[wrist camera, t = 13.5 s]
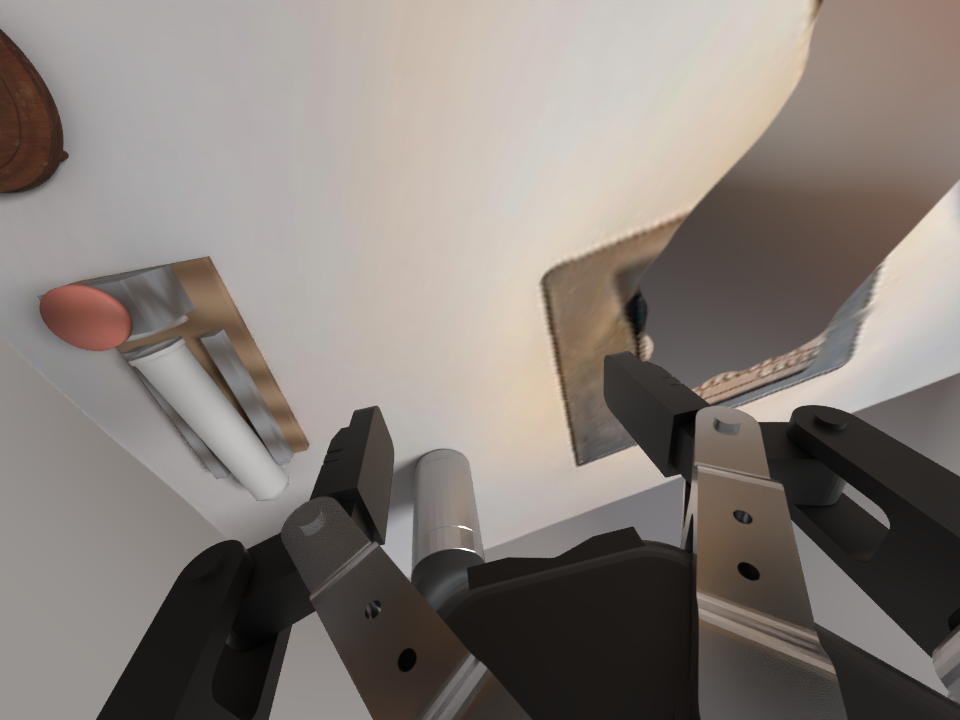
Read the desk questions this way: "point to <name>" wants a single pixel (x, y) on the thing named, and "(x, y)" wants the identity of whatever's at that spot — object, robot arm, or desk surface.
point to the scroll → (26, 123)
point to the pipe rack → (208, 335)
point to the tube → (211, 416)
